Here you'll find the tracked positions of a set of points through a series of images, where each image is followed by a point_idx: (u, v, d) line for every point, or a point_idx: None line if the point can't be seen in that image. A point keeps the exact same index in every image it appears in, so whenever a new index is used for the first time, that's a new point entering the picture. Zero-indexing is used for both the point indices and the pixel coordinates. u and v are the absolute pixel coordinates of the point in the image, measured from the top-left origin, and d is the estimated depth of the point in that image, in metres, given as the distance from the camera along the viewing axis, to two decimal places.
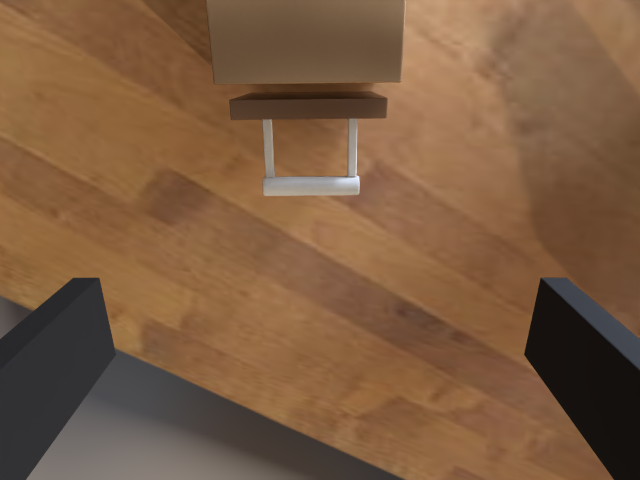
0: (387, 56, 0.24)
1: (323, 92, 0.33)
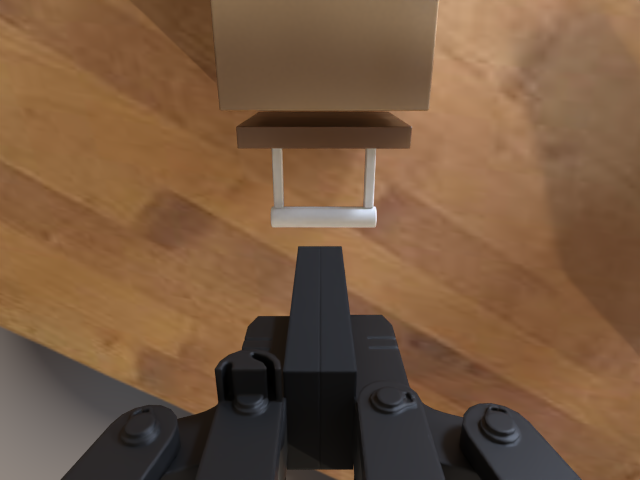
0: (414, 82, 0.21)
1: (337, 113, 0.30)
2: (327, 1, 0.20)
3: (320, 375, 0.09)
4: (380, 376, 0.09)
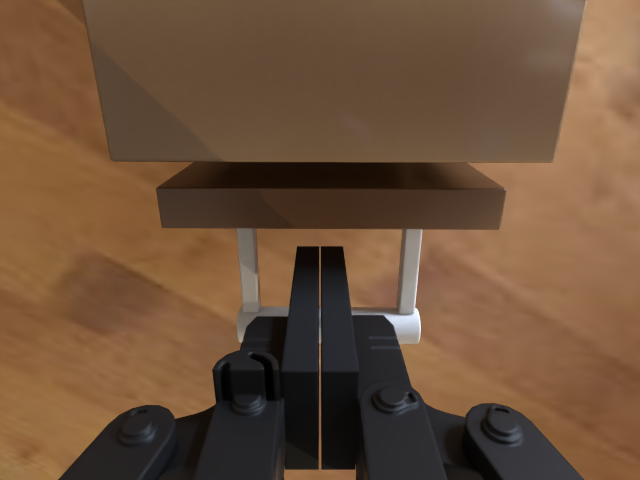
0: (529, 103, 0.10)
1: None
2: None
3: (318, 375, 0.09)
4: (382, 376, 0.09)
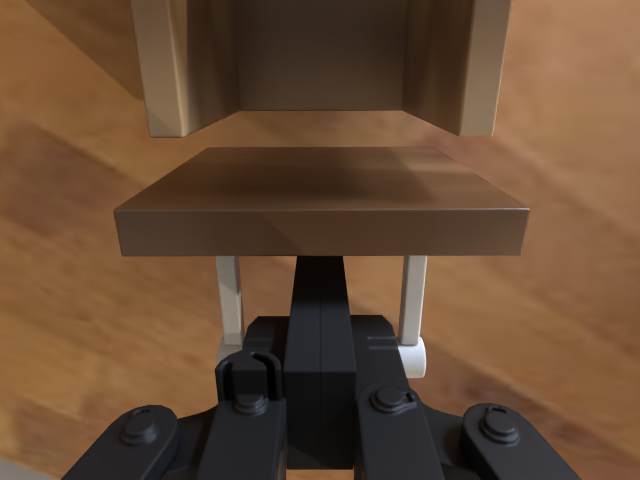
0: None
1: (345, 151, 0.17)
2: None
3: (320, 375, 0.09)
4: (380, 376, 0.09)
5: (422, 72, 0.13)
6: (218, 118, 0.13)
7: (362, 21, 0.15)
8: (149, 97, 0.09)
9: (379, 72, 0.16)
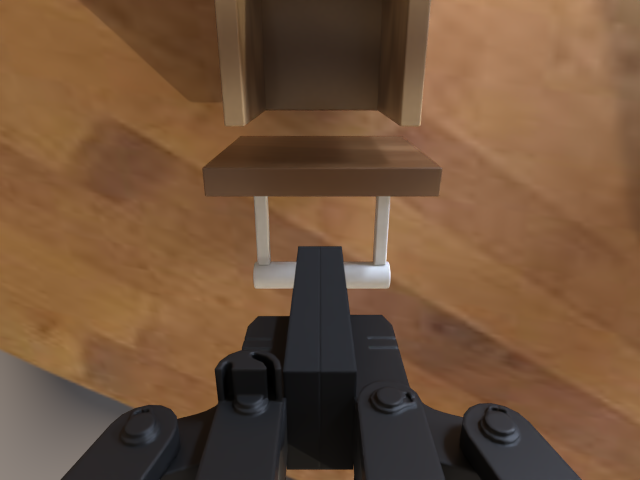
0: None
1: (338, 138, 0.24)
2: None
3: (320, 375, 0.09)
4: (380, 376, 0.09)
5: (386, 86, 0.20)
6: (256, 115, 0.20)
7: (350, 49, 0.22)
8: (226, 103, 0.16)
9: (361, 84, 0.23)
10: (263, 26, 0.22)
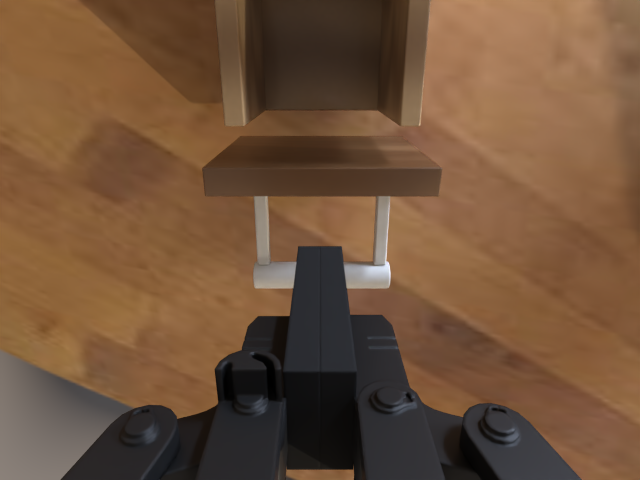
0: None
1: (338, 138, 0.24)
2: None
3: (320, 375, 0.09)
4: (380, 376, 0.09)
5: (386, 86, 0.20)
6: (256, 115, 0.20)
7: (350, 49, 0.22)
8: (226, 103, 0.16)
9: (361, 84, 0.23)
10: (263, 26, 0.22)
